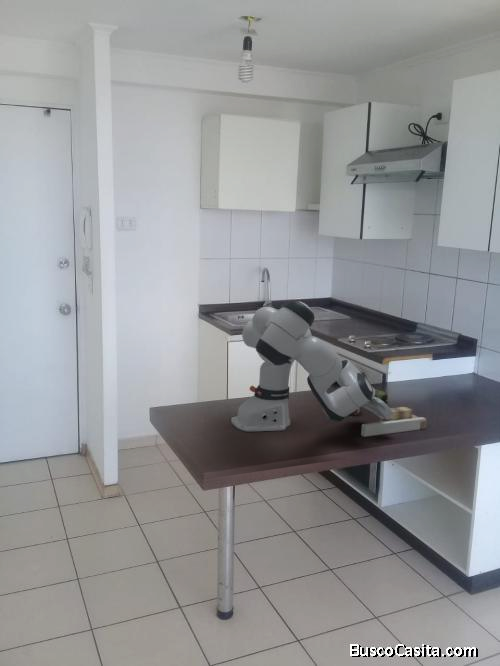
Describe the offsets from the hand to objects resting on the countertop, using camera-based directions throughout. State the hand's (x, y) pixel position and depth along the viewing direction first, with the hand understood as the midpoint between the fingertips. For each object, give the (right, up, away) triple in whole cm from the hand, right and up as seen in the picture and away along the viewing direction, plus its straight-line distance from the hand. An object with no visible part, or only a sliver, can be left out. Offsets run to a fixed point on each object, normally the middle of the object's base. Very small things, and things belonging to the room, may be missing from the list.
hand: (381, 416), depth 229 cm
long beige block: (+6, -4, +4) cm, 8 cm away
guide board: (+2, -4, +3) cm, 6 cm away
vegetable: (+5, +2, +38) cm, 38 cm away
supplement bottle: (-8, -1, +17) cm, 19 cm away
